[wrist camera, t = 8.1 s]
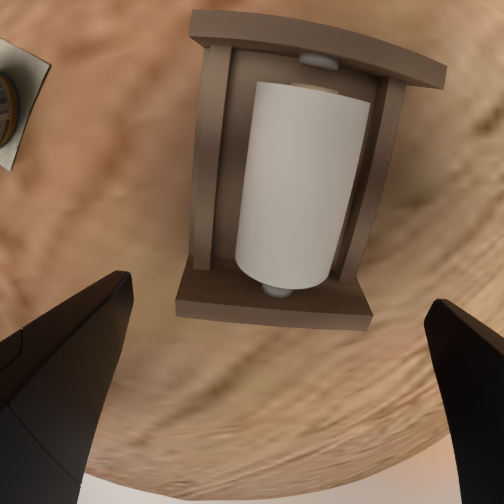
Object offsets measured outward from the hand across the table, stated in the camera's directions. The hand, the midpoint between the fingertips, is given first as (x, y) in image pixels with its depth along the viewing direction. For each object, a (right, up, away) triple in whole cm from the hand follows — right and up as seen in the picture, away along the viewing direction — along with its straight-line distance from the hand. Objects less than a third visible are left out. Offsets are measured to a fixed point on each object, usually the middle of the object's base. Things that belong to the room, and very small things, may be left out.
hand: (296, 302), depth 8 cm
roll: (+1, +5, +7) cm, 8 cm away
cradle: (+1, +7, +10) cm, 12 cm away
